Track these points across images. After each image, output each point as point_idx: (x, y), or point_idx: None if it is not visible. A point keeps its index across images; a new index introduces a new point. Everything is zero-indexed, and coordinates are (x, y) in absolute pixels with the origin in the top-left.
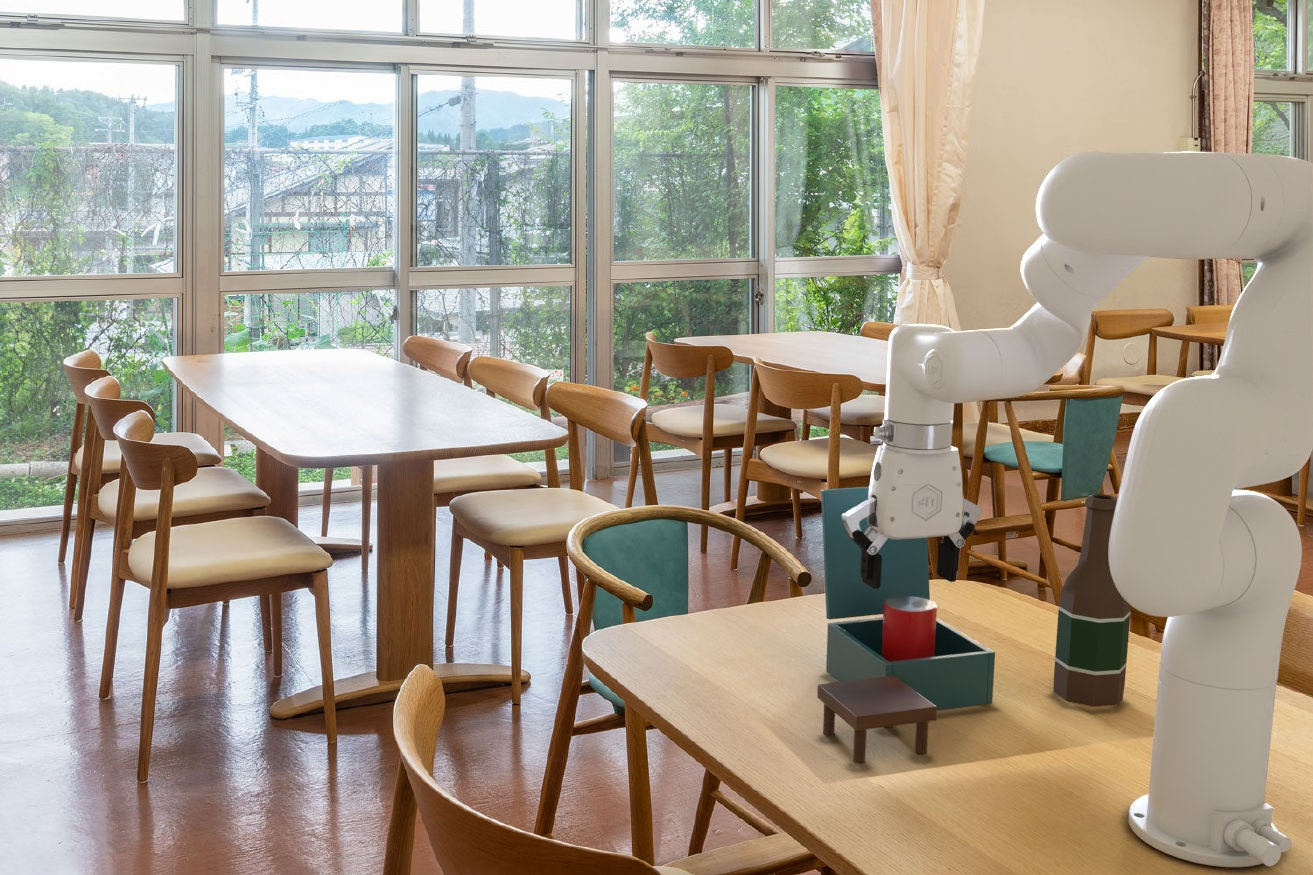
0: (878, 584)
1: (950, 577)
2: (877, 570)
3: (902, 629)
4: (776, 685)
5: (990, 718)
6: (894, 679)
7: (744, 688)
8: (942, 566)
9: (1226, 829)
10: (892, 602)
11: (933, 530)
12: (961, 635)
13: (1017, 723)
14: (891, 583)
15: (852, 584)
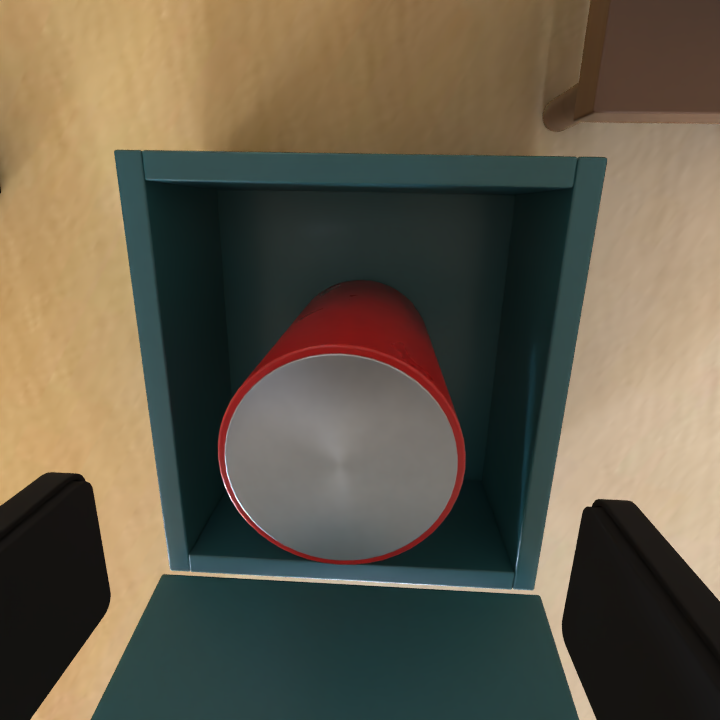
0: (617, 510)
1: (71, 488)
2: (696, 587)
3: (425, 354)
4: (631, 479)
5: (235, 117)
6: (620, 66)
7: (713, 486)
8: (59, 610)
9: None
10: (414, 499)
11: None
12: (160, 355)
13: (180, 58)
14: (281, 691)
15: (463, 715)
